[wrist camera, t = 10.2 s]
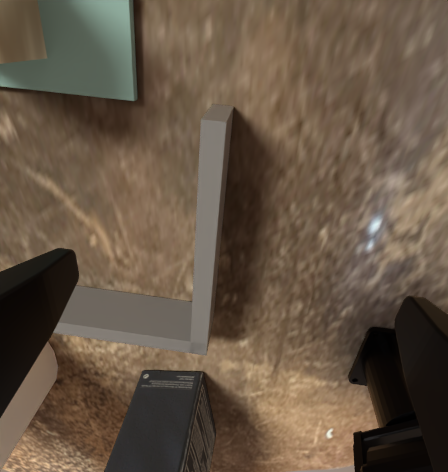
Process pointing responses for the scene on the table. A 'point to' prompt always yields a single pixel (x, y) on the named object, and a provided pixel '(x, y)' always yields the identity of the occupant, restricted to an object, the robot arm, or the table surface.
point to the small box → (166, 426)
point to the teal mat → (81, 51)
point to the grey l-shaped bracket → (205, 269)
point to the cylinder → (27, 401)
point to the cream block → (20, 31)
